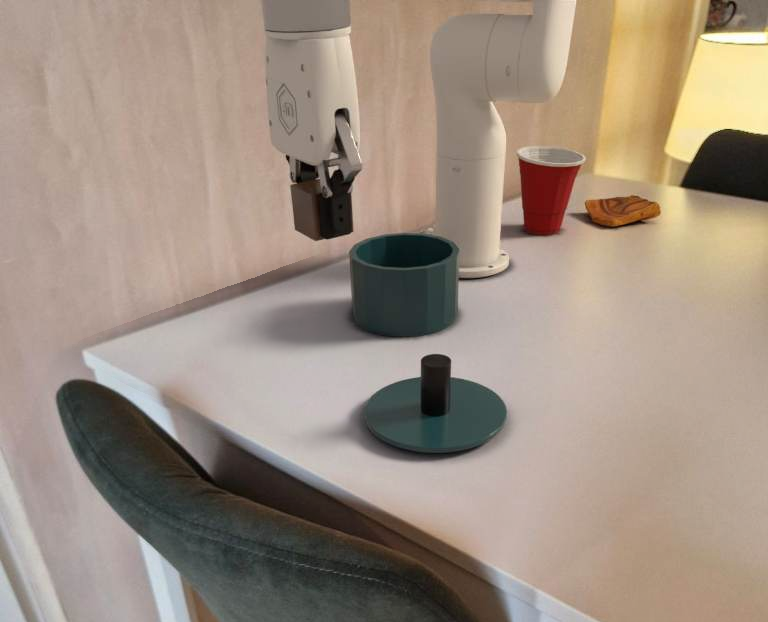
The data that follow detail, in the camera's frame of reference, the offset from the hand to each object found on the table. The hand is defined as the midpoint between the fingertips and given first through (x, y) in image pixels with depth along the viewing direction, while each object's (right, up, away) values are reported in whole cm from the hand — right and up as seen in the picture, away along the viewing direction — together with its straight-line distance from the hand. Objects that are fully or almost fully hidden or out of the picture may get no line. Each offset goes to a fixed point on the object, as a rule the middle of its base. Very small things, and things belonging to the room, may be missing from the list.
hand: (324, 227), depth 77 cm
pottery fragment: (+46, +21, +53) cm, 74 cm away
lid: (+11, -19, +2) cm, 22 cm away
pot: (+9, -3, +24) cm, 25 cm away
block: (0, 0, 0) cm, 0 cm away
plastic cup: (+33, +18, +50) cm, 62 cm away
